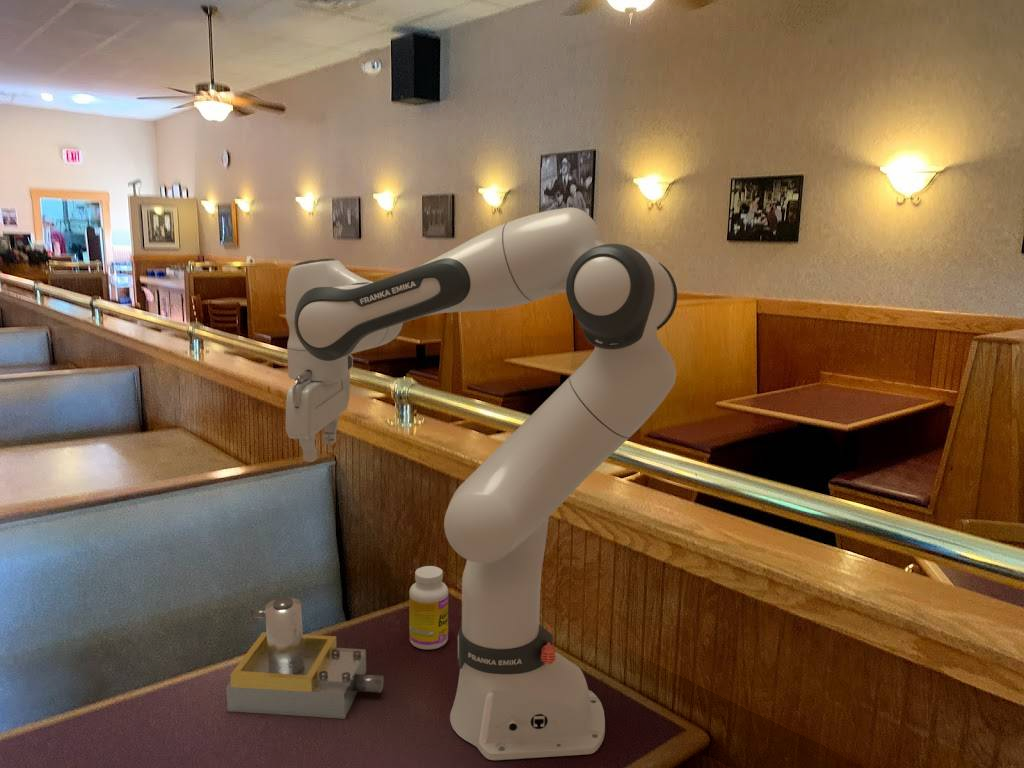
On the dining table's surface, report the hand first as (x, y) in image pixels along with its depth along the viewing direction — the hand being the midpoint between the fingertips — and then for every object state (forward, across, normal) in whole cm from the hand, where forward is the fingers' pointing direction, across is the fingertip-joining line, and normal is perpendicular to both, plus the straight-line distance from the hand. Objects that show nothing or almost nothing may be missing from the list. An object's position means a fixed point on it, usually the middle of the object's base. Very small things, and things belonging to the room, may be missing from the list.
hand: (320, 451), depth 122 cm
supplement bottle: (+35, +6, -16) cm, 39 cm away
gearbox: (+35, -10, -1) cm, 37 cm away
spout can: (+31, -10, +4) cm, 33 cm away
